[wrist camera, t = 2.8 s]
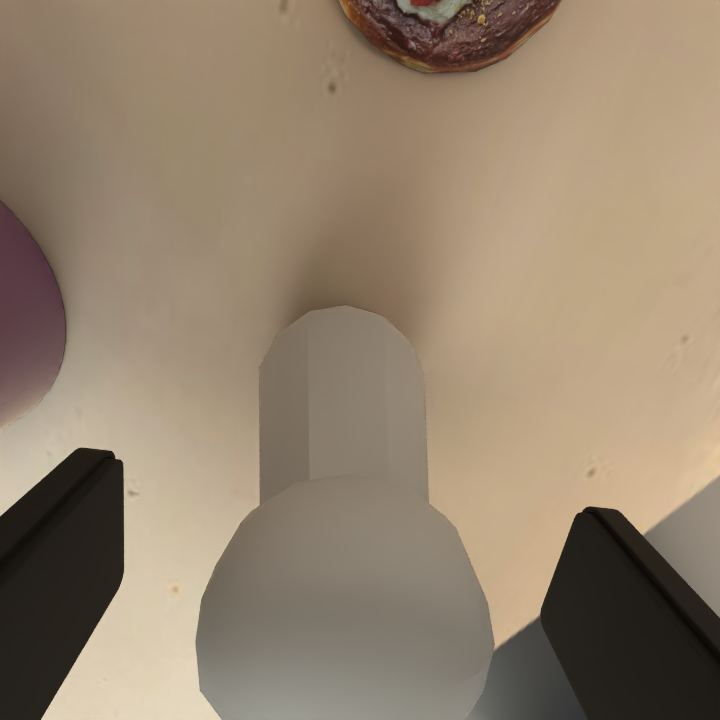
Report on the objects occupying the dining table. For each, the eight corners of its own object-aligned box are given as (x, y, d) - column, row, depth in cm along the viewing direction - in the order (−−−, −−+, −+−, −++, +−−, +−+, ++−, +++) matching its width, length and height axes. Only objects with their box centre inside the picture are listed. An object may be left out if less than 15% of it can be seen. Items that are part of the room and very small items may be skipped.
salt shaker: (366, 449, 19) (415, 880, 7) (246, 391, 18) (45, 786, 6) (439, 336, 18) (668, 635, 5) (311, 265, 16) (230, 438, 4)
